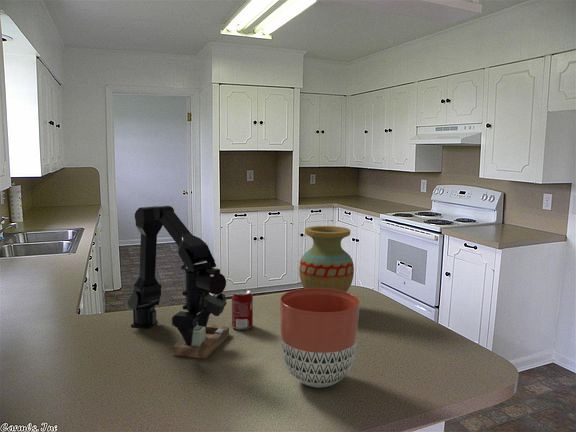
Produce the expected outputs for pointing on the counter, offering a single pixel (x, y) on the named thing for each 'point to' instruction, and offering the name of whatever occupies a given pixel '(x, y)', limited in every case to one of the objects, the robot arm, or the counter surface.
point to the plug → (198, 336)
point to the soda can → (242, 309)
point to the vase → (326, 260)
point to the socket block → (213, 340)
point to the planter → (319, 334)
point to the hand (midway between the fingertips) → (196, 339)
